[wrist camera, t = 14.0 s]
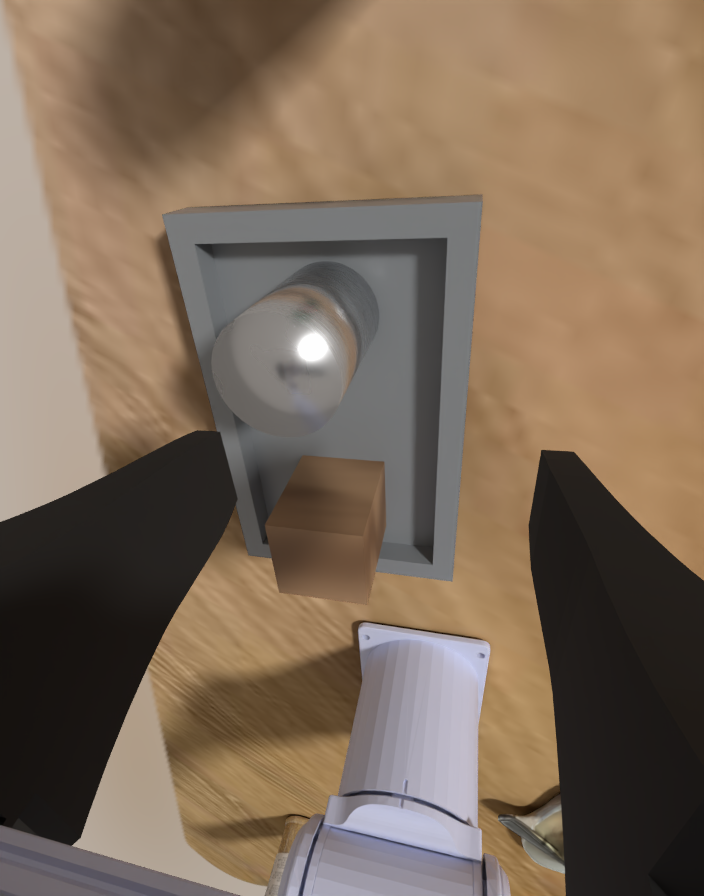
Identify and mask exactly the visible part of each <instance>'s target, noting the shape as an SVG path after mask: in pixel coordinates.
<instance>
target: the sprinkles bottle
mask: <svg viewBox="0 0 704 896" xmlns="http://www.w3.org/2000/svg"><path fill="white" fill-rule="evenodd" d="M308 820H309V819H308V818H304V817H301V816H290V817H288V818H287V819H286V821H285V830H284V833H283V836H282V840H281V844H280V847H279V851H278V854H277V855H276V858H275V862H274V865H273V869H272V872H271V876H270V879H269V883H268V886H267V890H266V893H265V896H277V895H278V891H279V886H280V882H281V878H282V874H283V871H284V867H285V864H286V860H287V857H288V854H289V851H290V849H291V846H292V843H293V841H294V839H295V837H296V835H297V833H298V831H299V830H300V828H301V827H302V826H303V825H304V824H306V823H307V822H308Z"/></svg>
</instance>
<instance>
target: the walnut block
mask: <svg viewBox="0 0 704 896" xmlns="http://www.w3.org/2000/svg"><path fill="white" fill-rule="evenodd" d="M265 529H266V534H267V538H268V543H269V548H270V552H271V557H272V561H273V566H274V570H275V575H276V580H277V584H278V589H279V592H280V593H287V594H294V595H301V596H308V597H315V598H322V599H329V600H335V601H342V602H349V603H356V604H363V605H368V601H369V596H370V592H371V588H372V584H373V580H374V575H375V571H376V567H377V563H378V559H379V554H380V550H381V546H382V542H383V538H384V533H385V529H386V498H385V464H384V462H383V461H370V460H357V459H344V458H332V457H319V456H306V455H303V456H302V457H301V459H300V461H299V463H298V465H297V467H296V469H295V470H294V472H293V474H292V476H291V478H290V480H289V481H288V483H287V485H286V487H285V489H284V491H283V492H282V494H281V496H280V498H279V500H278V502H277V504H276V505H275V507H274V509H273V511H272V513H271V515H270V516H269V518H268V520H267V522H266V524H265Z"/></svg>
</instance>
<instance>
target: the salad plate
mask: <svg viewBox="0 0 704 896" xmlns="http://www.w3.org/2000/svg"><path fill="white" fill-rule="evenodd" d="M498 821H500V822H501V823H502V824H503V825H504V826H506V827H507V828H509V829H510V830H512V831H513V832H515V833H516V834H518V835H519V836H520V837H521V841H522V845H523V847H524V849H525V851H526V852H527V854H528V855H529V856H530V857H531V858H532V859H533V860H534V861H535V862H536V863H538V864H539V865H541V866H543V867H546V868H549V869H552V870H554V871H558V872H561V873H564V874H565V864H564V847H563V829H562V812H561V796H560V794H559V795H557V796H555V797H554V798H553V799H551V800H550V801H549V802H548V803H547V804H545V805H544V806H542V807H540V808H539V809H537V810H535V811H534V812H532V813H530V814H527V815H524V816H518V815H513V814H500V815H499V816H498Z"/></svg>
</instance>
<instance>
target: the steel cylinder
mask: <svg viewBox="0 0 704 896" xmlns="http://www.w3.org/2000/svg"><path fill="white" fill-rule="evenodd" d="M378 324H379V308H378V304H377V300H376V297H375V295H374V293H373V291H372V289H371V287H370V286H369V284H368V283H367V282H366V280H365V279H364V278H363V277H362V276H361V275H360V274H358V273H357V272H356V271H354V270H353V269H351V268H350V267H347V266H345V265H343V264H340V263H337V262H331V261H320V262H315V263H311V264H308V265H306V266H304V267H302V268H301V269H299V270H298V271H297V272H295V273H294V274H293V275H291V276H290V277H289V278H287V279H286V280H285V281H284V282H282V283H281V284H280V285H278V286H277V287H276V288H274V289H273V290H272V291H271V292H269V293H268V294H267V295H265V296H264V297H263V298H261V299H260V300H259V301H258V302H256V303H255V304H254V305H252V306H251V307H250V308H248V309H247V310H246V311H245V312H243V313H242V314H241V315H239V316H238V317H237V318H235V319H234V320H233V321H232V322H230V323H229V324H228V325H227V326H226V327H225V328H224V329H223V330H222V331H221V333H220V334H219V336H218V338H217V339H216V342H215V344H214V347H213V352H212V361H211V364H212V373H213V378H214V381H215V384H216V387H217V389H218V391H219V393H220V395H221V397H222V399H223V400H224V402H225V403H226V404H227V406H228V407H229V408H230V409H231V410H232V411H233V413H234V414H235V415H236V416H238V417H239V418H240V419H241V420H242V421H244V422H245V423H246V424H248V425H249V426H251V427H253V428H255V429H257V430H259V431H261V432H263V433H266V434H269V435H273V436H278V437H286V438H287V437H301V436H305V435H308V434H311V433H313V432H315V431H317V430H319V429H320V428H322V427H323V426H324V425H325V424H326V423H327V422H328V421H329V420H330V419H331V418H332V416H333V415H334V413H335V412H336V410H337V408H338V406H339V404H340V402H341V400H342V398H343V396H344V394H345V393H346V391H347V389H348V387H349V385H350V383H351V381H352V379H353V377H354V375H355V374H356V372H357V370H358V368H359V366H360V364H361V362H362V360H363V358H364V356H365V355H366V353H367V351H368V349H369V347H370V345H371V343H372V341H373V339H374V337H375V335H376V333H377V329H378Z"/></svg>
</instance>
